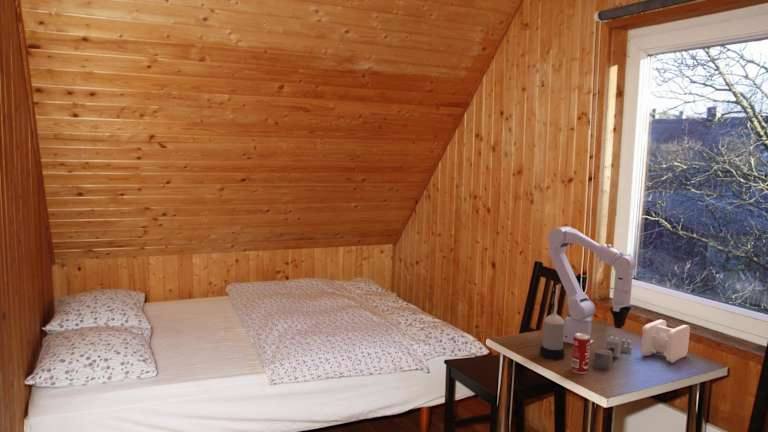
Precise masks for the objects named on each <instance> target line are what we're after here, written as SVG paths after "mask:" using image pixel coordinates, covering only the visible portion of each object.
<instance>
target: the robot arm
mask: <svg viewBox="0 0 768 432" xmlns="http://www.w3.org/2000/svg"><path fill="white" fill-rule="evenodd" d="M546 239H547V241H548V255H549V258H550V259H551V261H552V264H553V266H554V268H555V271H556V273H557V275H558V277H559V279H560V282H561V283H562V286H563V288H564V290H565V292H566V295H567V302H566V303H567V307H568V314H569V316H565V318H564V320H563V321H564V336H563V343H568V344H571V345H573V338H574V336H575V334H576V333H582V334H587V335H589V336H590V337H589V338H590V345H591V344H592V343H594V340H593V339H591V332H592V319H593V318H592V315H594V313H595V312H596V306H595V303H594V302H593V301H592V300H590V299H591V298H589V296H588V295H587V294H586V293H585V292H583V289H582V288H581V286H580V283H579V281H578V280H577V277H576V276H575V273H574V270H573V268H572V267H571V264H570V261H569V260H568V257H567V254H566V252H567V249H568V246H569V245H570V244H577V245H579V246H581V247H583V248H585V249H588V250H589V251H591V252H593V253H594V254H595V256H596V258H597V259H599V260H601V261H602V262H604V263H606V264H607V265H609V266H611V267H613V269H614V271H615V273H614V282H613V283H614V284H613V295H612V300H611V303H612V306H611V307H610V308H609V311H610V312H611V315H612V318H613V326H614V328H615V329H619V330H621V329H622V327H624V326H625V324H626V320H627V318H628V315H629V313H630V311H631V309H632V307H633V306H634V305H635V304H634V302H632V301H631V296H632V286H633V270H634V269H635V268H636V266H637V263H636V262H637V261H636V259H635V257H633V256H632V255H631V254H625V253H624V251H619V250H617V249H615V248H613V245H612V244H610V243H609V244H606V243H603V244H600V243H598V242H597V241H595V240H593V239H592V238H590V237H588V236H587V235H585V234H583V233H582V232H580V231H579V230H578V229H576V228H573V227H571V226H570V225H564V226H560V227H554V228H552V229H550V231H549V233H548V235H547V236H546Z"/></svg>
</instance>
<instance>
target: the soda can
mask: <svg viewBox="0 0 768 432" xmlns="http://www.w3.org/2000/svg"><path fill="white" fill-rule="evenodd" d="M589 337H590V338H589ZM590 340H591V335H590V336H589V335H587V334H582V333H576V334H575V336H574V338H573V344H572V350H571V351H572V352H571V362H570V363H571V365H570V370H571V372H572V373H573V372H574V373H575V374H581V375H585V374H587V373H588V372H589V363H590V351H591V350H590V348H591V344H590Z"/></svg>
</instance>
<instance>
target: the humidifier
mask: <svg viewBox="0 0 768 432" xmlns="http://www.w3.org/2000/svg"><path fill="white" fill-rule="evenodd" d="M554 289H555V295H554V298H553V299H552V300H551V302H553V301H554V308H553V309H554V310H553V311H552V313H551V314H550V315H548V316H546V317H545V318H544V321H543V333H542V334H543V335H542V344H541V345H540V347H539V356H540V357H541V358H544V359H546V360H551V361H559V360H563V359H564V358H565V356H566V353H565V348H564V346H563V345H564V342H563V336H564V321H565V320H564V319H563V318H562V317H561V316H560V315H558V313H557V311H558V298H559V297H558V296H559V284H557V285H555V288H554V286H553V289H552V290H554Z"/></svg>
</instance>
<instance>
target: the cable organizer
mask: <svg viewBox="0 0 768 432" xmlns="http://www.w3.org/2000/svg"><path fill="white" fill-rule="evenodd" d="M641 331H642V338H641V339H642V340H641V349H640V352H641V355H644V356H646V357H650V356H651V355H653V354H655V355H657V353H658V352H659V353H660V354H661V353H662V354H663V357H666V359H665V360H666V361H667V362H670V363H671V364H673V363H675V362H676V361H677V360H681V359H683V358H684V357H685V356H687V353H688V350H689V343H690V333H691V327H690V325H687V324H683V325H679V326H677V327H675V328H673V327H672V328H671V327H668V326H667V321H666V320H664V319H657V320H654V321H652V322H649V323H647V324H645V325H644V326H643V327H642V328H641ZM657 351H658V352H657ZM682 357H683V358H682ZM680 358H681V359H680Z"/></svg>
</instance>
